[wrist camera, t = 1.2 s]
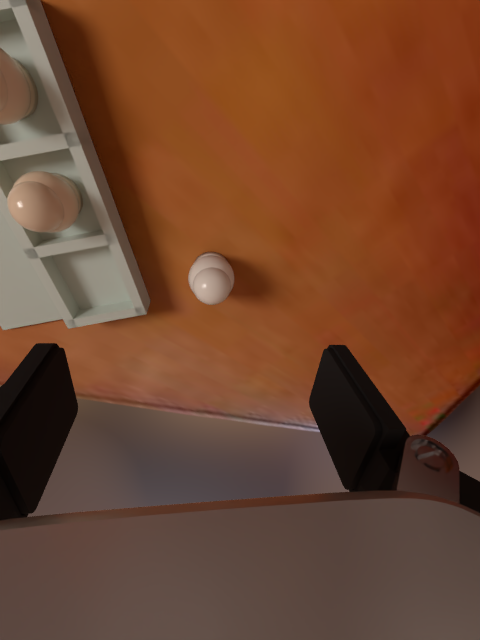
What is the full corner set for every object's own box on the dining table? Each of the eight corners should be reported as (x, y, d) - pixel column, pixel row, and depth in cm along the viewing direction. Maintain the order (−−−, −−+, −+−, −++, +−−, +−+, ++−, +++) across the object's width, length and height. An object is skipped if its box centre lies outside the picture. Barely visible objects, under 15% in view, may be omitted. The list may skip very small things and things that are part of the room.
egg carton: (-197, 44, 22) (-250, 33, 19) (40, -1, 22) (18, -18, 19) (5, 327, 35) (-10, 342, 33) (150, 300, 35) (146, 314, 33)
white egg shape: (228, 244, 32) (233, 266, 27) (235, 284, 35) (241, 311, 30) (184, 252, 32) (180, 276, 27) (195, 291, 35) (193, 320, 30)
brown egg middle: (73, 162, 26) (40, 171, 21) (96, 218, 29) (72, 238, 24) (19, 172, 26) (-27, 184, 21) (46, 227, 29) (12, 250, 24)
